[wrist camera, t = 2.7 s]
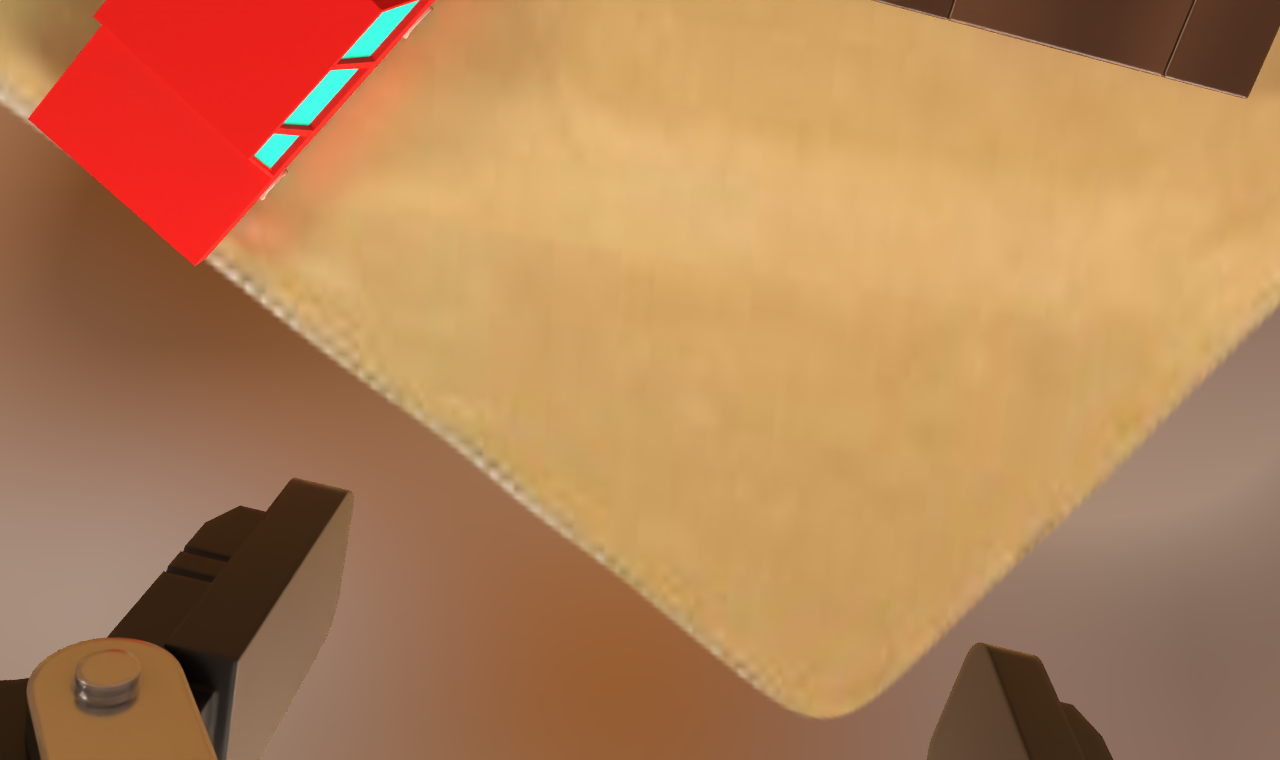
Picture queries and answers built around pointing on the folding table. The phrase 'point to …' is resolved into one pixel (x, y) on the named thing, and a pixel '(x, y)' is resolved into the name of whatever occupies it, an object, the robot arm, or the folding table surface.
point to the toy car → (212, 100)
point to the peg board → (1135, 33)
